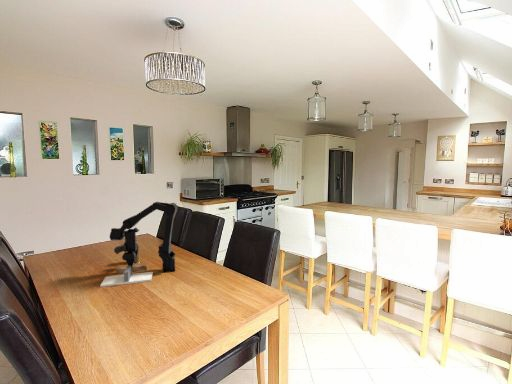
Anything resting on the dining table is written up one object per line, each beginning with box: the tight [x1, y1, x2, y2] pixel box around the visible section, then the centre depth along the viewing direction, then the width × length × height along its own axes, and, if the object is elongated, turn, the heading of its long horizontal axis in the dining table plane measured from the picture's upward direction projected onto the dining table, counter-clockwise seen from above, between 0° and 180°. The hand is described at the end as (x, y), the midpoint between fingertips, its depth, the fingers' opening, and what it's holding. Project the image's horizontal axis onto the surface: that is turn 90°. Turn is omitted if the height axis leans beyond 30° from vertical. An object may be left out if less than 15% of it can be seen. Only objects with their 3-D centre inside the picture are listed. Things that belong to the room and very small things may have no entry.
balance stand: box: [99, 265, 154, 288], centre depth 148 cm, size 24×11×6 cm, turn 106°
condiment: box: [133, 242, 141, 266], centre depth 174 cm, size 7×8×12 cm
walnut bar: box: [115, 263, 148, 275], centre depth 160 cm, size 16×3×3 cm, turn 113°
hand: (131, 265), depth 160 cm, fingers open, 9 cm apart
